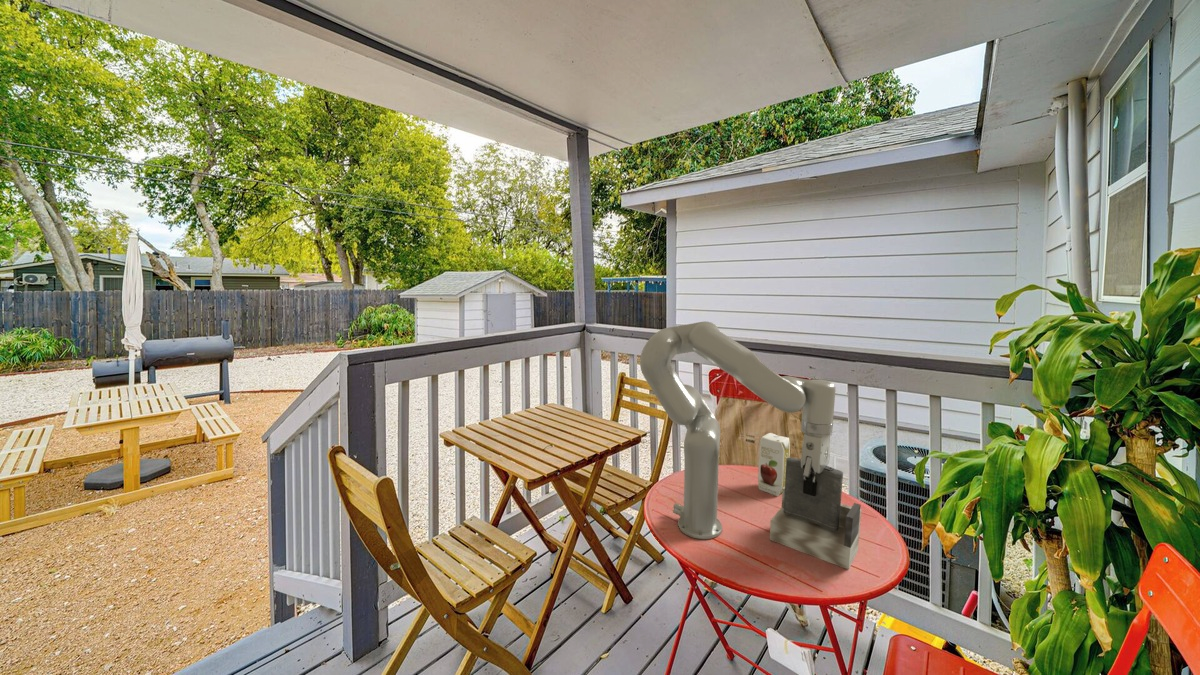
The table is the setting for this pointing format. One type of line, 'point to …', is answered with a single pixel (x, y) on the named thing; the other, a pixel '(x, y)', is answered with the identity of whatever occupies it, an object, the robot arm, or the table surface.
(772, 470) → the juice carton
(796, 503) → the flask
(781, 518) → the stone display stand
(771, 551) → the table surface
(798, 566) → the table surface
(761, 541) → the table surface
